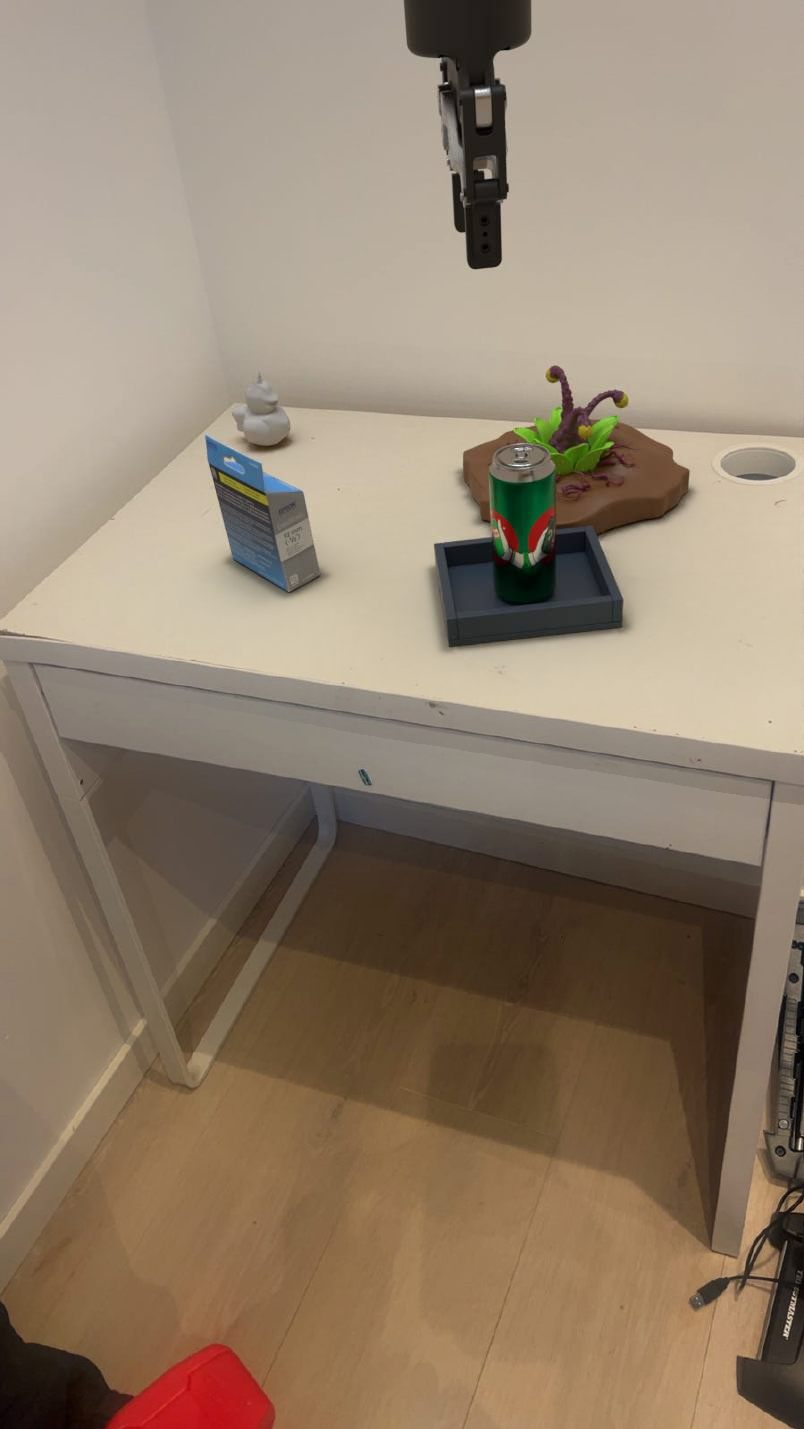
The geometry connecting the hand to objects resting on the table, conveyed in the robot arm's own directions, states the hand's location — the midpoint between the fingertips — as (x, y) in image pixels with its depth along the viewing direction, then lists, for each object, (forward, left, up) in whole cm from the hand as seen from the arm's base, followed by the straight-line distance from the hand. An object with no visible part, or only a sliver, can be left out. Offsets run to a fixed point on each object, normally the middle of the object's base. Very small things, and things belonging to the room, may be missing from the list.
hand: (477, 247), depth 70 cm
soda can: (-2, +2, -27) cm, 27 cm away
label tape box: (+19, -7, -27) cm, 34 cm away
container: (-2, +2, -27) cm, 27 cm away
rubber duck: (+21, -34, -27) cm, 48 cm away
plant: (-9, -16, -27) cm, 33 cm away
